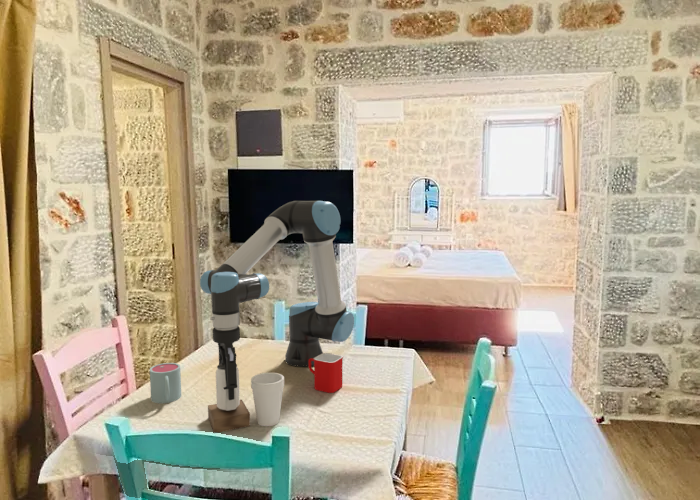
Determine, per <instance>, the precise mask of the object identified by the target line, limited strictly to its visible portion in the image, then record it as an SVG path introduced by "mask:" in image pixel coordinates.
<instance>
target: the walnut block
mask: <svg viewBox="0 0 700 500" xmlns="http://www.w3.org/2000/svg"><path fill="white" fill-rule="evenodd" d="M250 414H251V413H250V410H249V409H248V407H247V406H246V404H245V402H244V400H243V399H240V404H239V406H238V407H237V408H236V409H234V410H228V411H226V410H220V409H219V408H218V407H217V403H214V404H207V415H208V416H207V417H208V418H207V419H208V420H209V423H210V426H211V429H212V432H213V433H214V432H218V433H222V432H228V431H233V430H238V429H241V428H242V429H243V428H248V427H251V420H250V419H251V418H250V417H251V415H250Z"/></svg>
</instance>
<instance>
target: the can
mask: <svg viewBox="0 0 700 500" xmlns="http://www.w3.org/2000/svg"><path fill="white" fill-rule="evenodd" d="M239 371H240V370H239V368H238V364H237V363H236V373H237V388H235V389H236V408H237V407H238V406H239V404H240V400H241V399H240V396H241V395H240V393H241V392H240V372H239ZM224 387H226V378H225V367H224V365H222V364H220V365H219V364H218V365H217V367H216V371H215V391H216V392H215V394H216V397H215V398H216V404H217V407H218V408H219V409H220V410H226V396H225V390H224Z"/></svg>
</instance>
